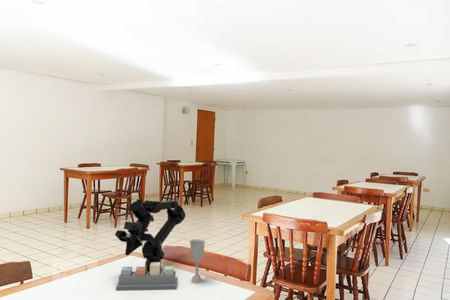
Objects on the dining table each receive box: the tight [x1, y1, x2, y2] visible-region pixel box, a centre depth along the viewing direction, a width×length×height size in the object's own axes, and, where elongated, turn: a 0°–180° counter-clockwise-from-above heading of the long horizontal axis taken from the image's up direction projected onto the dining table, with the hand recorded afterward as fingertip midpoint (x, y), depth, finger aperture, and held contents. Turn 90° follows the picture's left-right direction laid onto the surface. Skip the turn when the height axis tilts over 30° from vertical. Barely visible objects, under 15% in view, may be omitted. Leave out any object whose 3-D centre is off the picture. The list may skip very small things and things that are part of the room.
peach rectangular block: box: [135, 266, 147, 276], centre depth 159 cm, size 4×4×6 cm
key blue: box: [120, 266, 133, 276], centre depth 159 cm, size 4×4×6 cm
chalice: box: [188, 238, 206, 284], centre depth 165 cm, size 7×7×18 cm
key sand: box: [150, 262, 160, 276], centre depth 160 cm, size 4×4×6 cm
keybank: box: [115, 270, 178, 291], centre depth 160 cm, size 25×10×5 cm, turn 95°
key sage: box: [163, 265, 175, 276], centre depth 160 cm, size 4×4×6 cm
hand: (126, 254), depth 159 cm, fingers closed
